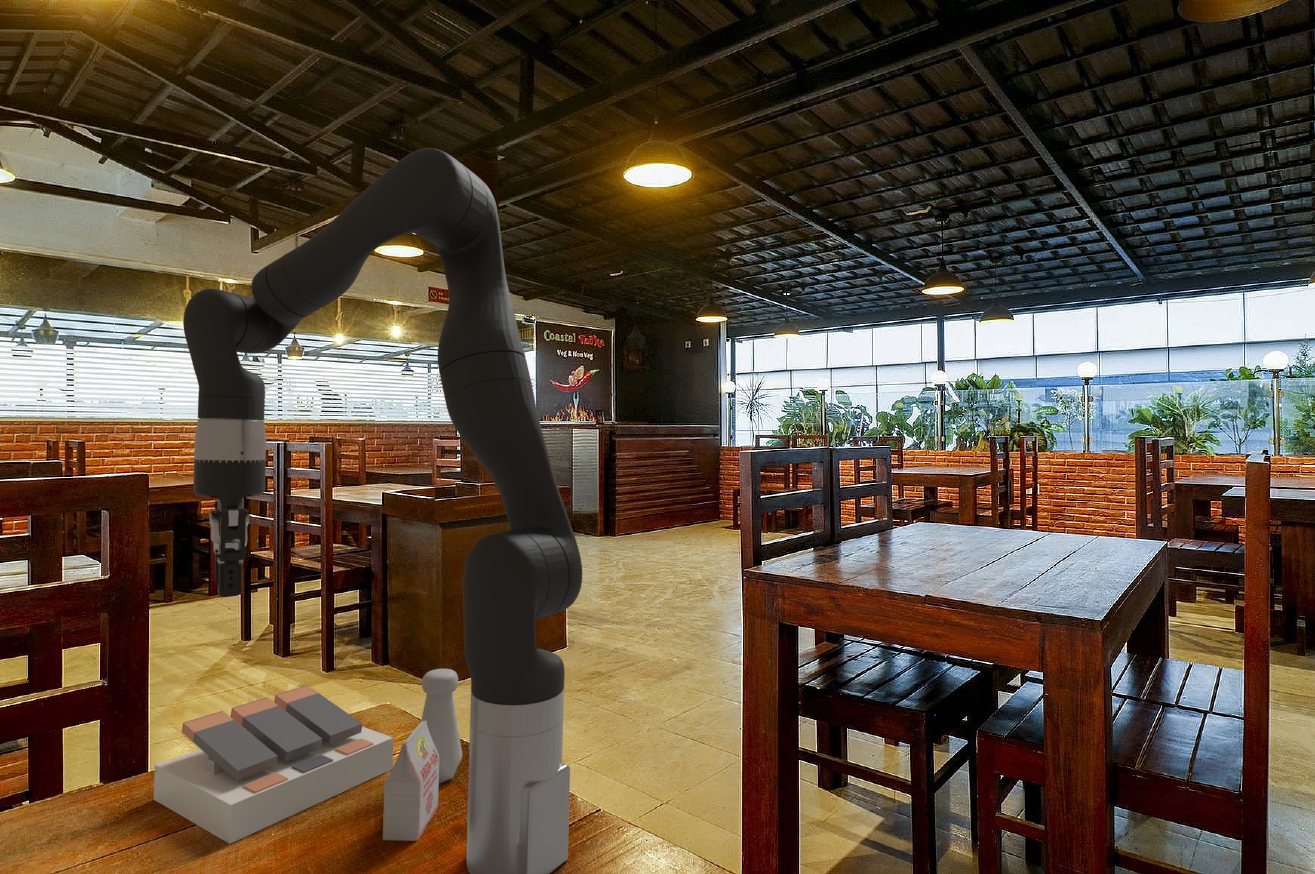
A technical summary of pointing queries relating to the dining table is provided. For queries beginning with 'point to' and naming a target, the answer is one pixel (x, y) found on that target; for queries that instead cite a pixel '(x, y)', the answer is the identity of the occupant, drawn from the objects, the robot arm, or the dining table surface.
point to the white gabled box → (412, 788)
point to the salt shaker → (442, 719)
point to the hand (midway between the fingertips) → (227, 589)
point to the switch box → (267, 784)
